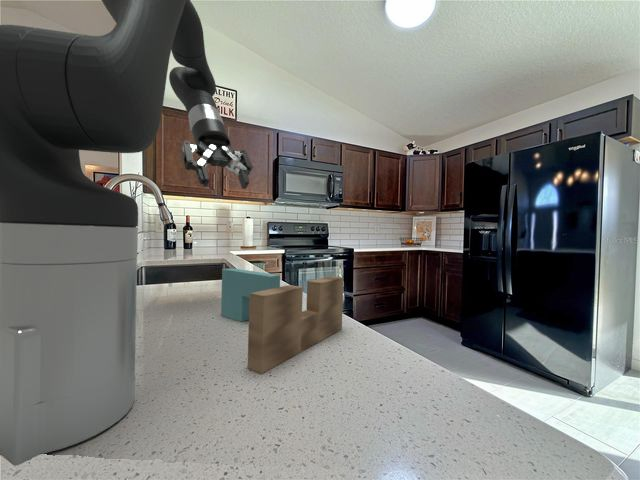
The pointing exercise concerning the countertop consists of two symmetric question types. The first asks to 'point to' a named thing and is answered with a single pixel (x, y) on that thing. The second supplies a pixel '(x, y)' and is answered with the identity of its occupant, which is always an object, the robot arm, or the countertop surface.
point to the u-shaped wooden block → (292, 320)
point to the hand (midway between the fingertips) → (227, 185)
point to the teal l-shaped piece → (243, 290)
